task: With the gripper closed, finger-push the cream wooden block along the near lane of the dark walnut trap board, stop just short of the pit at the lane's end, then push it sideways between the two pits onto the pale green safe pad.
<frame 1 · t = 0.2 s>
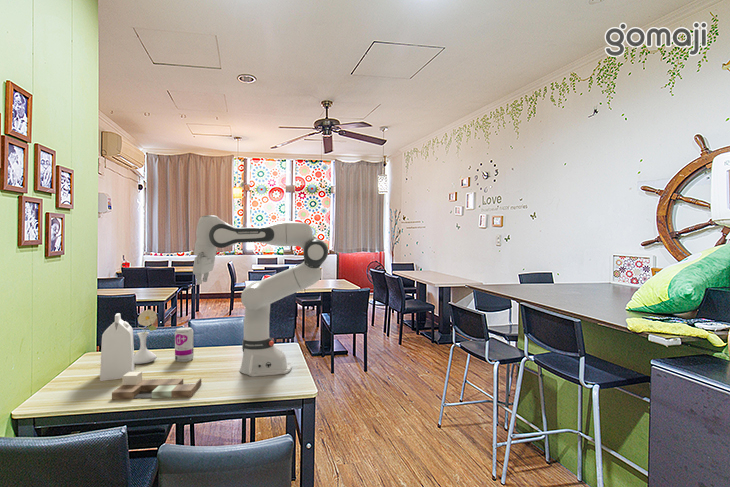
hand: (201, 283, 184), 39 cm above the table, tool pointing down, fingers open, 8 cm apart
flower in vase: (144, 362, 197), on the table
milk: (118, 375, 180), on the table
supplement can: (184, 360, 202), on the table
cream block: (132, 382, 163), point 3 cm above the table, touching trap board
trap board: (158, 391, 161), on the table
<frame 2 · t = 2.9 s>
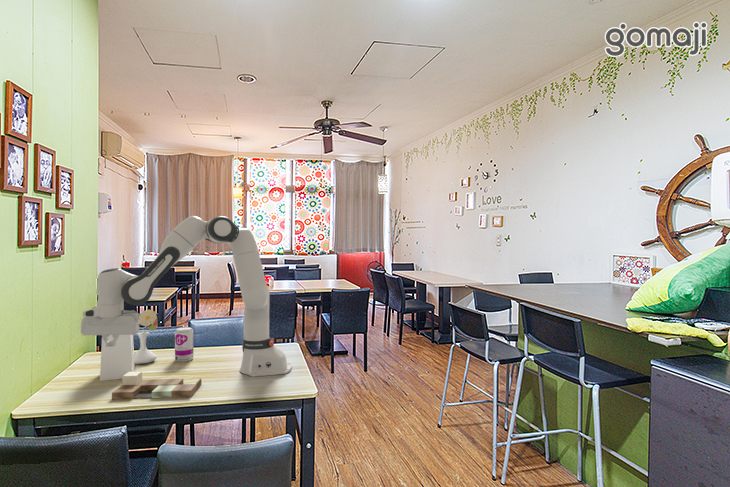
hand: (110, 346, 162), 17 cm above the table, tool pointing down, fingers closed
nothing on the table moved.
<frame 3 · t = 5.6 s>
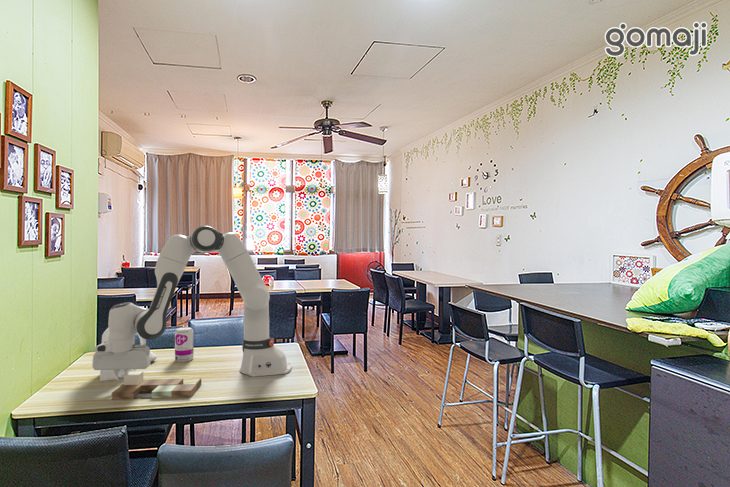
hand: (122, 380, 163), 4 cm above the table, tool pointing down, fingers closed
cream block: (133, 382, 163), point 3 cm above the table, touching gripper, trap board
everything else where it was.
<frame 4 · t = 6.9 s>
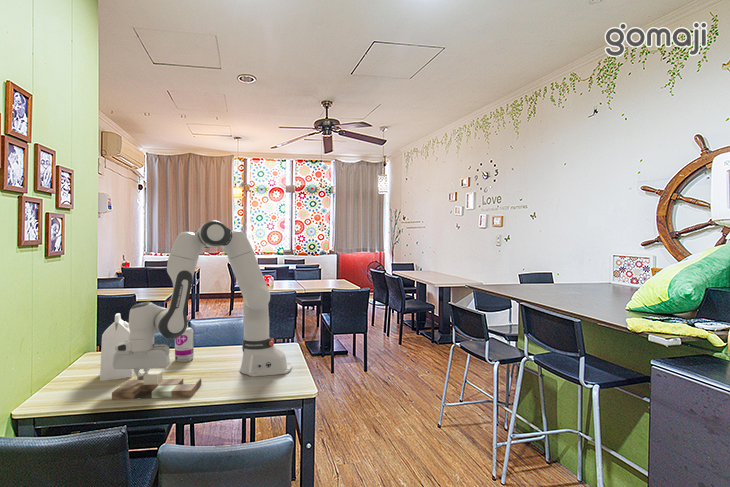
hand: (141, 379, 163), 4 cm above the table, tool pointing down, fingers closed
cream block: (153, 382, 164), point 3 cm above the table, touching gripper
everything else where it was.
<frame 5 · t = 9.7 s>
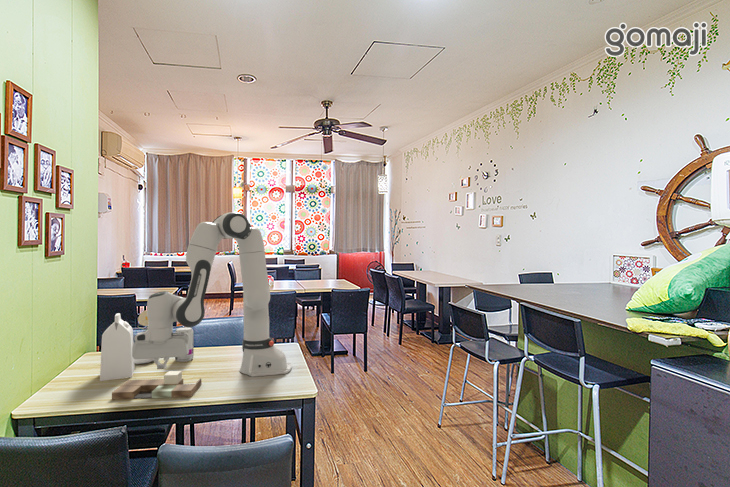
hand: (161, 368, 164), 8 cm above the table, tool pointing down, fingers closed
cream block: (173, 381, 164), point 3 cm above the table, touching trap board
everything else where it was.
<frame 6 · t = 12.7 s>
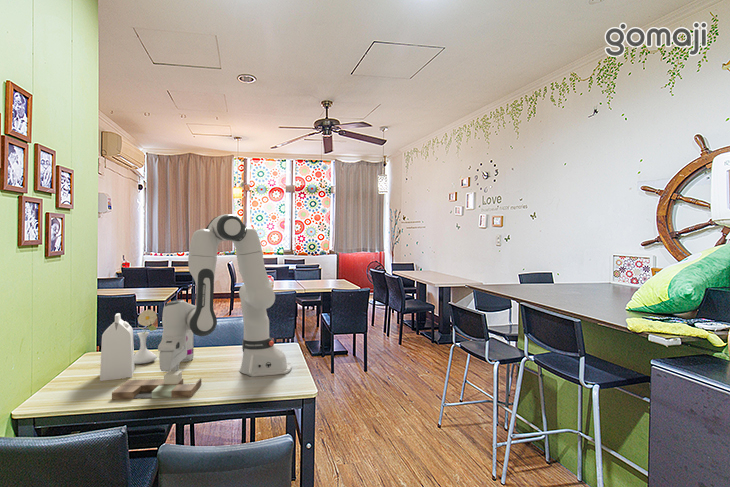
hand: (174, 375, 168), 4 cm above the table, tool pointing down, fingers closed
cream block: (173, 381, 164), point 3 cm above the table, touching gripper
everything else where it was.
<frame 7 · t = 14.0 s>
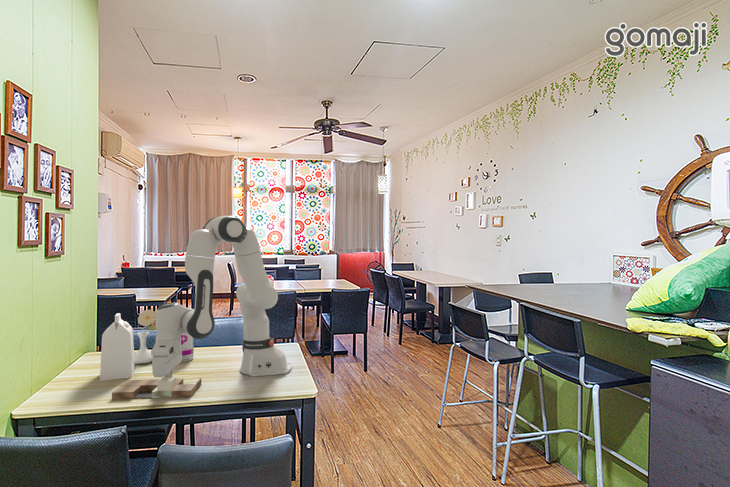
hand: (168, 380, 162), 4 cm above the table, tool pointing down, fingers closed
cream block: (166, 388, 158), point 2 cm above the table, touching gripper, trap board
everything else where it was.
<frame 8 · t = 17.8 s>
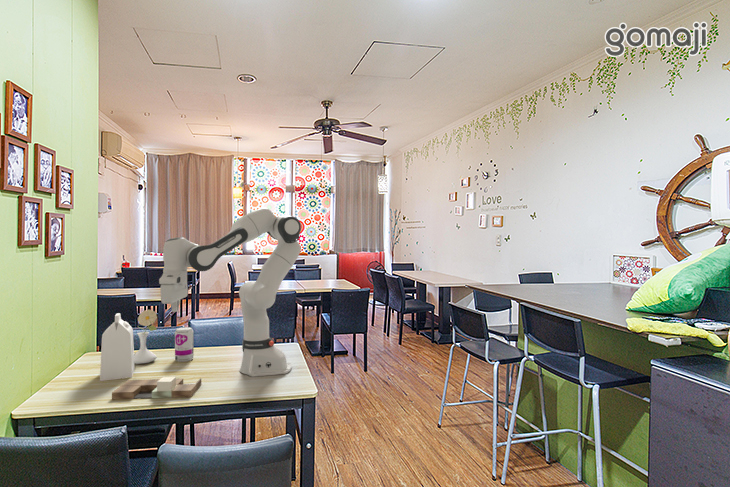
hand: (175, 311, 170), 29 cm above the table, tool pointing down, fingers closed
cream block: (166, 388, 158), point 2 cm above the table, touching trap board
everything else where it was.
at the end: cream block inside the target area on the trap board (0.9 cm from its centre), point 2.4 cm above the trap board's base; cream block tilted 0° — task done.
